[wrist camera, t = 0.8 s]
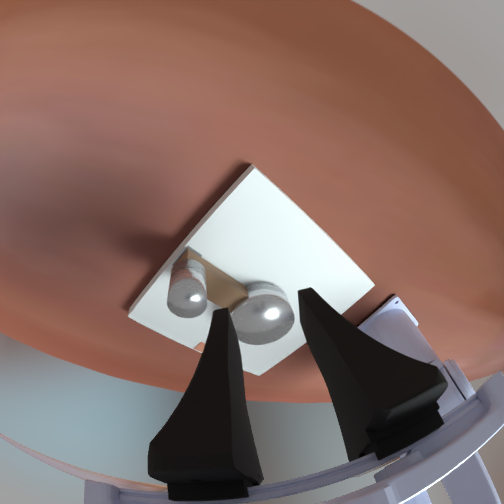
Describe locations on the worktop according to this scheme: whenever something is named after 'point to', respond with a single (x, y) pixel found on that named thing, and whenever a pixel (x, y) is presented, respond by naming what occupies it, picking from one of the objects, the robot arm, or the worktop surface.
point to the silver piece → (229, 300)
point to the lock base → (256, 266)
